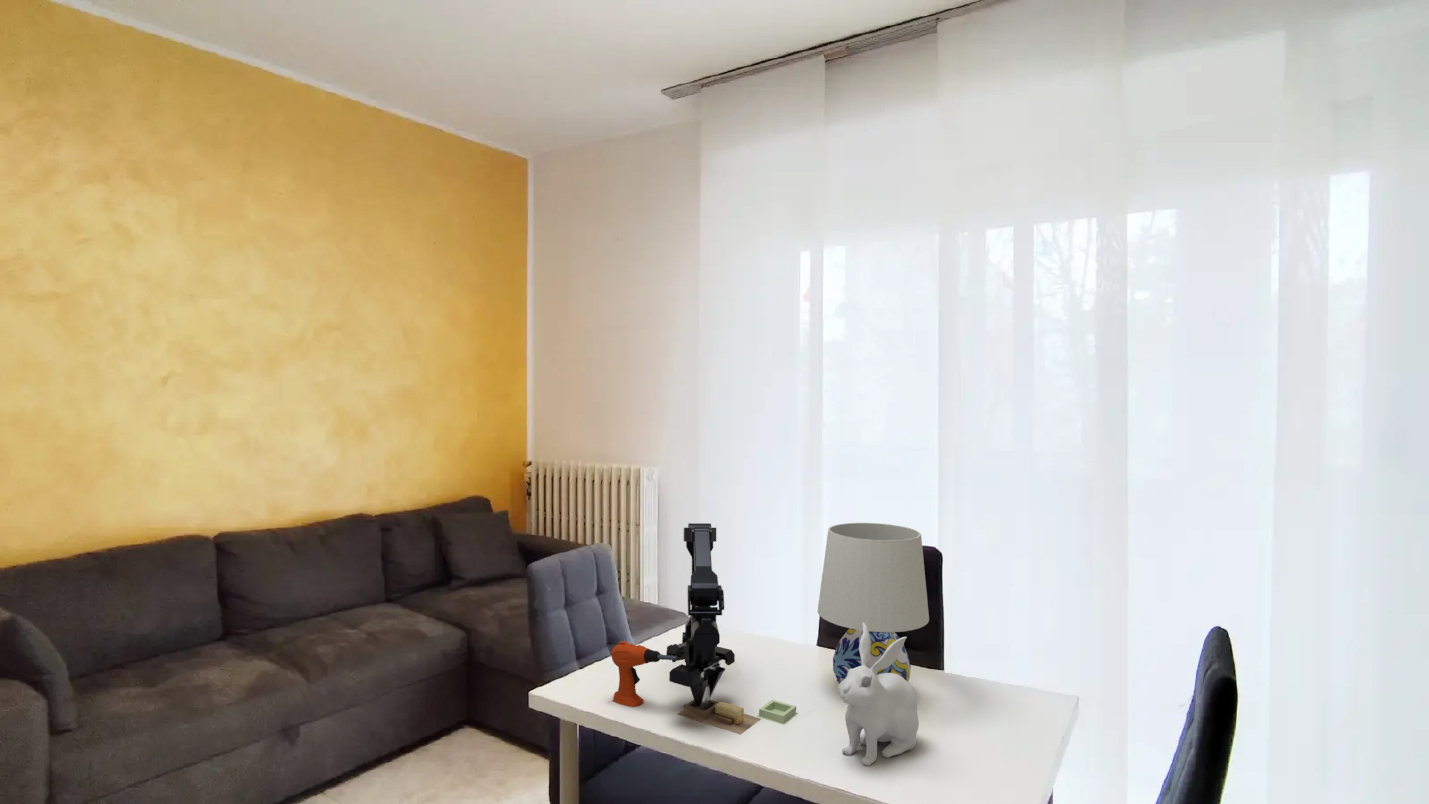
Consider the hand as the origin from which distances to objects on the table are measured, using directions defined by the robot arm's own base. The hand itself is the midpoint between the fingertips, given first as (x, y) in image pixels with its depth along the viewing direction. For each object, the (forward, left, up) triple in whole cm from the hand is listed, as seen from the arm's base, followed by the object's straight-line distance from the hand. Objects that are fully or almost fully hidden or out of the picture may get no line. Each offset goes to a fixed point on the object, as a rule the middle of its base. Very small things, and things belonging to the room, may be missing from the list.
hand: (702, 702), depth 168 cm
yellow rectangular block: (0, +7, -2) cm, 8 cm away
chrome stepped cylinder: (0, 0, -2) cm, 2 cm away
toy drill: (+5, -13, -3) cm, 14 cm away
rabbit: (-7, +39, -3) cm, 40 cm away
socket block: (0, +5, -3) cm, 5 cm away
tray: (-8, +15, -3) cm, 17 cm away
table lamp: (-35, +27, -3) cm, 44 cm away
